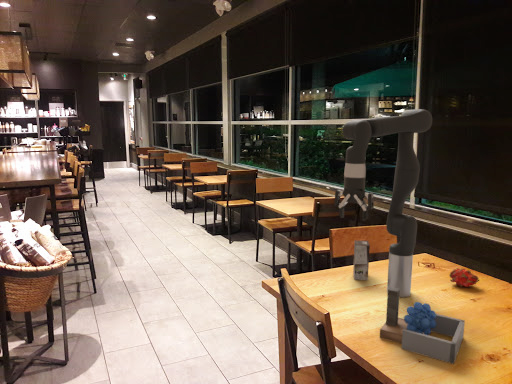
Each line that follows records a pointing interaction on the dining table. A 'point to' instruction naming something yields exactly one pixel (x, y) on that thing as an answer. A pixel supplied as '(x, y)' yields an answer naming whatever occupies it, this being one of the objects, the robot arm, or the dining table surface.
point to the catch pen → (436, 339)
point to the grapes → (420, 318)
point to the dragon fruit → (463, 277)
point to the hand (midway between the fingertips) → (352, 219)
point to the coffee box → (361, 260)
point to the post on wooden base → (393, 318)
